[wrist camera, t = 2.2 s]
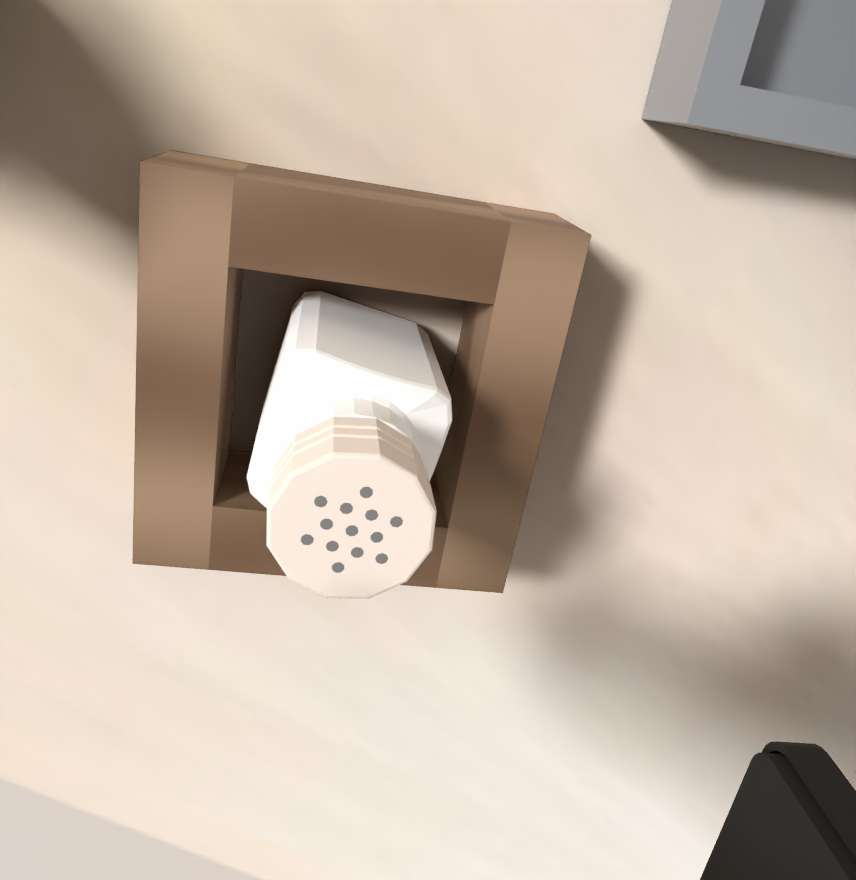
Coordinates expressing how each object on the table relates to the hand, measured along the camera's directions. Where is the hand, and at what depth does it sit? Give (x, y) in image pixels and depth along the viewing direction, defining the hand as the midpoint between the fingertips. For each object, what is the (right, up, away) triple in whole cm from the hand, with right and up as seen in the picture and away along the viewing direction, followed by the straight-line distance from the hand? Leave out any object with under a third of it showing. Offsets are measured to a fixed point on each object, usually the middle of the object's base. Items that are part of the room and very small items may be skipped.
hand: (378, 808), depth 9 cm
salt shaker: (-2, +7, +14) cm, 15 cm away
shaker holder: (-2, +7, +13) cm, 15 cm away
